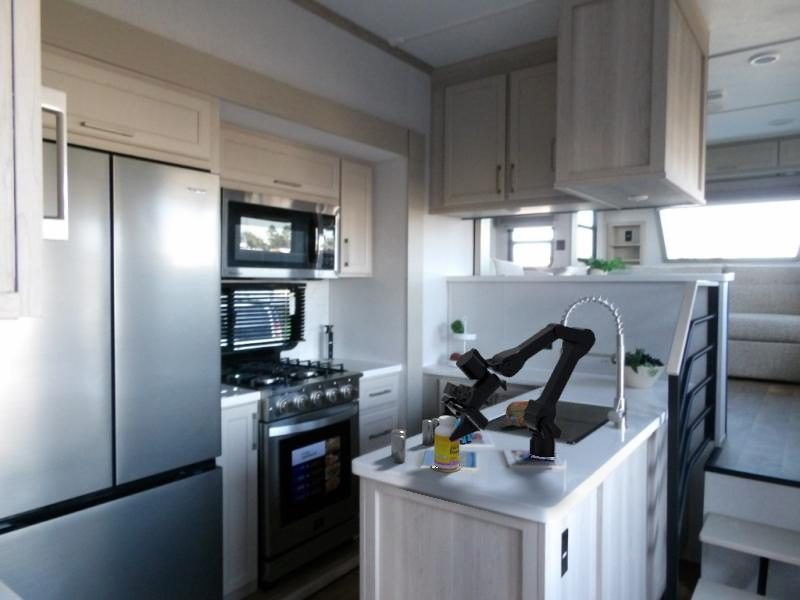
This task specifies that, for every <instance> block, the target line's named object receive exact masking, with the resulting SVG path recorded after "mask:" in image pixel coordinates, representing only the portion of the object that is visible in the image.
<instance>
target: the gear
mask: <svg viewBox="0 0 800 600" xmlns="http://www.w3.org/2000/svg"><path fill="white" fill-rule="evenodd" d="M457 417H458V416H457ZM458 418H459V419H458V420H457V422H456V424H455V425H456V427H457V426H458V424H459V423H460V421H461V416H459V417H458ZM475 436H476V435H475V432H474V433H472V434H469V435H466V436H464V437H462V438H461V439H462V440H460V441H461V442H464V443H465V442H466V443H467V441H471V442H472V441H473V438H474V437H475ZM461 442H460V443H461ZM466 443H465V444H466Z"/></svg>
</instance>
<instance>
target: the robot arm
mask: <svg viewBox="0 0 800 600" xmlns="http://www.w3.org/2000/svg"><path fill="white" fill-rule="evenodd" d="M595 335H596V334H595V332H594V331H593V330H592V329H590V328H588V327H587V328H585V327H579V326H571V327H570V326H567V325H563V324H562V323H557V322H550V323H548V324H547V325H546V326H545V327H544V328H542V329H541V330H539V331H538V332H536V333H534V335H532V336H529V338H527V339H526V340H525V341H523V342H521V343H520V344H517V346H514V347H512V348H508V349H505V350H502V351H500V352H497V353H496V354H494V355H493V356H492V357H490V358H487V359H486V358H484V357H483V356H482V355H481V353H480V351H478V349H477V348H474V347H472V348H471V349H470V350H469V351H466V352H465V353H463V354H461V355H460V356H459V357H458V358H457V359H456V361H455V365H456V367H457V368H458V369H459V370H460V371H461V372H462V373H463V375H465V376H466V378H467V379H468V380H469V381H474V380H475V382H474V383H473V384H472V385H471V386H469V385H465V384H463V383H460V384H459V385H456V384H454V383H452V382H450V381H447V382H446V383H445V387H444V388H443V391H442V393H443V394H445V395H443V396H442V398H441V399H440V402H441V403H440V405H441V409H442V410H441V411H442V412H441V415H440V416H453V417H456V418H457V420H460V417H461V421H460V423H459V424H458V426H457V427H456V429H455V430H454V431H453V433H452V434H451V436H450V438H449V440H450V441H451V442H453V441H455V440H457V439H459V438H460V439H463V438H462V437H464V436H466V435H469V434H472V433H474V434H475V433H476V432H481V431H485V430H486V429H487V428H488V426H489V421H490V420H489V419H488V418H487V417H486V416H485V415H484V414H483V413H482V412H481V410H482V408H483V407H484V406H486V407H487V406H489V405H490V402H489V400H490V399H491V397H493V396H494V394H495V393H496V391H497V390H498V389H499V390H501V391H504V392H507V390H508V387H507V380H505V379H503V378H502V379H501V378H500V377H499V376H502V377H504V378H509V379H510V378H513V377H514V376H516V375H517V374H518V373H519V372H520V371H521V370H522V369H523V368H524V366H525V364H526V362H527V361H528V360H530V359H531V358H532V357H534V356H536V355H537V354H538V353H539V352H541V351H543V350H544V349H546V348H547V347H548V346H550V345H551V344H553V343H555V342H556V341H558V340H562V342H561V345H562V347H561V348H562V353H561V355H560V357H559V359H558V361H557V363H556V365H555V367H554V368H553V370H552V373H551V374H550V376H549V378H548V380H547V382H546V383H545V385H544V389H543V390H542V392H541V394H540V396H539V397H538V398H536V399H532V398H530V399H528V400H529V402H528V405H527V407H526V409H525V410H524V411H523V412H525V413H524V416H523V419H524V423H525V424H526V426H525V427H527V429H528V432H529V433H531V434H532V435H531V438H530V439H529V455H531V454H532V455H535V456H539V457H555V454H556V455H557V452H556V450H557V449H556V447H557V446H556V443H557V440H556V439H560V438H561V435H562V430H561V429H560V428H559V426H557V424H556V423H555V422H556V419H557V418H556V417H557V405H558V402H559V400H560V399H561V396H562V394H563V392H564V390H565V388H566V386H567V385H568V382H569V380H570V379H571V376H572V375H573V373H574V370H575V368H576V366H577V364H578V363H579V361H580V360H581V359H582V358H583V357H585V356H586V355H587V354H589V352H590V351H591V349H593V346H595V344H596V341H597V338H596V336H595ZM490 370H491V371H492V373H491V371H490ZM457 416H458V417H457ZM437 426H439V421H438V423H437V425H436V427H437ZM435 429H436V428H435ZM469 436H470V435H469ZM555 458H556V457H555Z"/></svg>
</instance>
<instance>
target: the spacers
mask: <svg viewBox="0 0 800 600" xmlns="http://www.w3.org/2000/svg"><path fill="white" fill-rule="evenodd" d="M438 421H439V417H434V418H432V419H423V420H422V421H421V422H422V423H421V424H422V428H421V429H422V430H421V432H422V433H421V435H422V436H421V437H422V439H421V444H422V445H423V446H432V445H433V444H434V442H435V428H436V425H437V423H438ZM390 432H391V438H390V439H391V444H390V445H391V447H390V457H392V458H393V463H395V464H404V463H405V461H406V447H407V446H406V444H407V443H406V439H407V437H406V435H407V433H406V432H407V431H406V430H405V429H401V428H397V429H391V431H390Z"/></svg>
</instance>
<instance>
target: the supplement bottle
mask: <svg viewBox="0 0 800 600" xmlns="http://www.w3.org/2000/svg"><path fill="white" fill-rule="evenodd" d="M438 418H439V426H437V427H436V429H435V442H434V443H433V444H434V446H433V447H434V448H433V463H434V465H435V466H436V467H438V468H442V469H454V468H457V467H458V466H459V464H460V447H461V445H460V443H461V442H460V441H461V438H459V439H457V440H455V441H453V442H451V441H450V440H449V438H450V436H451V434H452V433H453V431H454V430H455V429H456V425H455V424H456V422H457V418H456V417H453V416H441V415H440V416H439V417H438Z"/></svg>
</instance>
